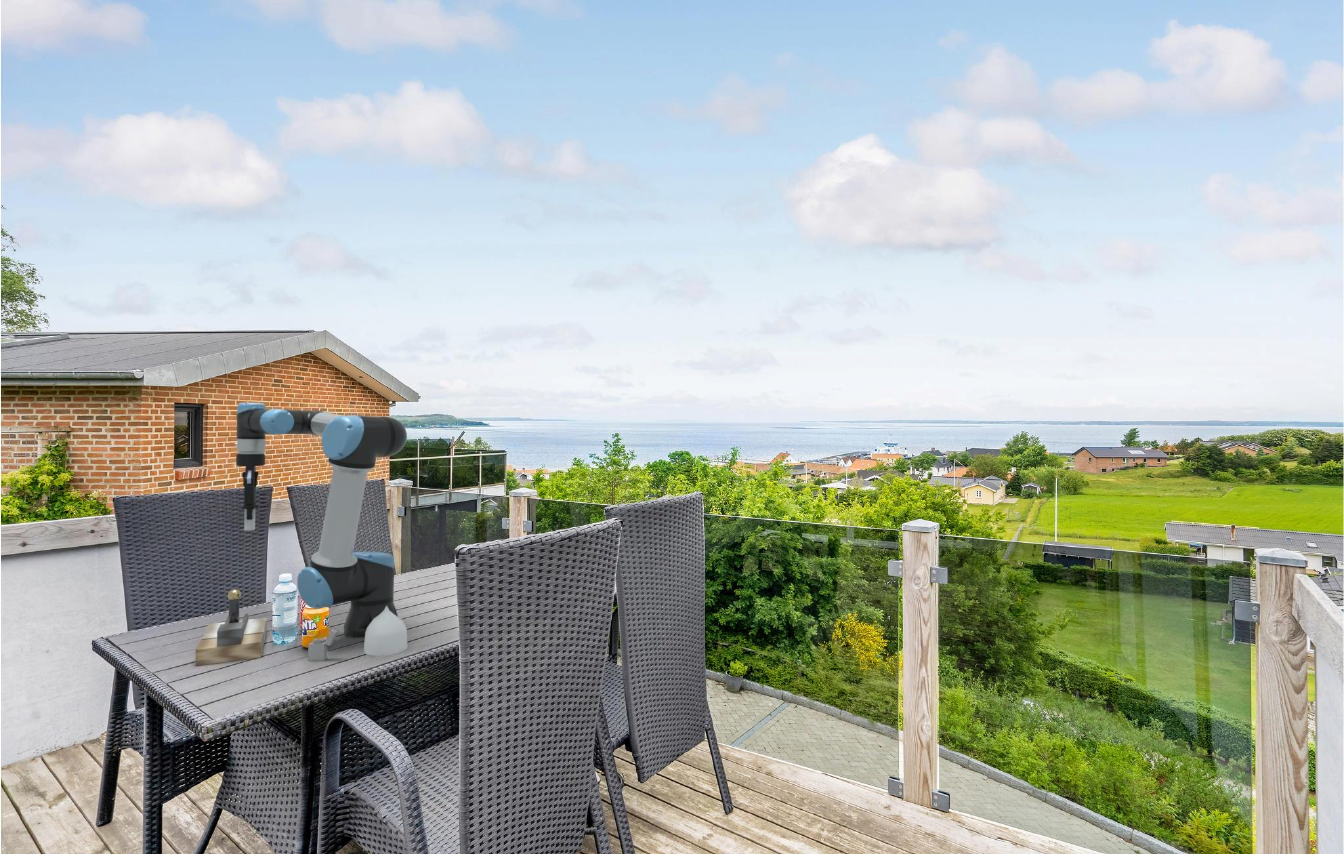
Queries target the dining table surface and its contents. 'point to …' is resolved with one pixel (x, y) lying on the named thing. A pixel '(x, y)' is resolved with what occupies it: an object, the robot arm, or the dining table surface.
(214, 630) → the door and jamb
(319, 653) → the lighter
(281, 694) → the dining table surface
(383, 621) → the teardrop
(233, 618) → the bolt
